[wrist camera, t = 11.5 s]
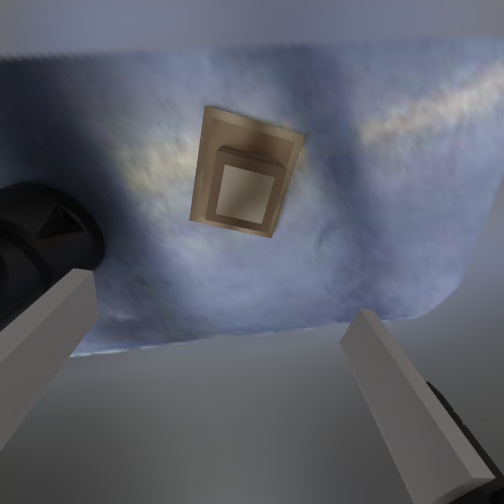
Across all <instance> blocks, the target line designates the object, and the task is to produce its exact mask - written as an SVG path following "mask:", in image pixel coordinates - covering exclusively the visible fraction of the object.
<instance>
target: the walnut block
mask: <svg viewBox="0 0 504 504" xmlns="http://www.w3.org/2000/svg"><path fill="white" fill-rule="evenodd" d="M287 170H288V169H286V168H285V167H284V166H283V165H282V164H281V163H280V162H279V161H278V160H275V159H271V158H267V157H264V156H260V155H256V154H253V153H249V152H245V151H241V150H238V149H234V148H230V147H227V146H223V145H222V146H221V147H220V148H219V149H218V150H217V151H216V156H215V162H214V169H213V175H212V181H211V187H210V193H209V199H208V205H207V212H206V218H205V220H208V221H213V222H217V223H222V224H227V225H231V226H236V227H240V228H245V229H250V230H254V231H259V232H264V233H268V231H269V228H270V225H271V221H272V218H273V215H274V212H275V208H276V205H277V202H278V199H279V196H280V192H281V189H282V186H283V183H284V179H285V176H286V173H287Z"/></svg>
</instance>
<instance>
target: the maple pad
mask: <svg viewBox="0 0 504 504" xmlns="http://www.w3.org/2000/svg"><path fill="white" fill-rule="evenodd" d="M304 137H305V135H302V134H299V133H296V132H292V131H289V130H286V129H282V128H279V127H276V126H272V125H269V124H266V123H262V122H259V121H256V120H252V119H249V118H246V117H242V116H239V115H236V114H232V113H229V112H226V111H222V110H219V109H216V108H212V107H209V106H206V105H205V108H204V116H203V123H202V131H201V138H200V146H199V153H198V161H197V168H196V175H195V183H194V190H193V198H192V205H191V213H190V221H195V222H200V223H204V224H209V225H213V226H218V227H223V228H227V229H232V230H236V231H241V232H245V233H250V234H255V235H259V236H264V237H268V238H271V237H272V234H273V231H274V228H275V225H276V222H277V219H278V216H279V213H280V210H281V207H282V204H283V201H284V198H285V195H286V192H287V189H288V186H289V183H290V180H291V176H292V173H293V170H294V167H295V164H296V161H297V158H298V155H299V152H300V149H301V146H302V143H303V140H304ZM222 145H223V146H227V147H230V148H234V149H238V150H241V151H245V152H249V153H253V154H256V155H260V156H264V157H267V158H271V159H275V160H278V161H279V162H280V163H281V164H282V165H283V166H284V167H285V168H286V169H288V170H287V173H286V176H285V179H284V183H283V186H282V189H281V192H280V196H279V199H278V202H277V205H276V208H275V212H274V215H273V218H272V221H271V225H270V228H269V231H268V233H264V232H259V231H254V230H250V229H245V228H240V227H236V226H231V225H227V224H222V223H217V222H213V221H208V220H205V218H206V212H207V205H208V199H209V193H210V187H211V181H212V175H213V169H214V162H215V156H216V151H217V150H218V149H219V148H220V147H221V146H222Z"/></svg>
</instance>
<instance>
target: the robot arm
mask: <svg viewBox="0 0 504 504" xmlns="http://www.w3.org/2000/svg"><path fill="white" fill-rule="evenodd" d="M103 254H104V242H103V237H102V234H101V232H100V229H99V227H98V226H97V224H96V222H95V221H94V219H93V218H92V217H91V216H90V214H89V213H88V212H87V211H86V210H85V209H84V208H83V207H82V206H80V205H79V204H78V203H77V202H75V201H74V200H73V199H71V198H69V197H68V196H66V195H64V194H62V193H60V192H58V191H56V190H54V189H51V188H48V187H44V186H40V185H34V184H18V185H13V186H9V187H5V188H2V189H0V450H1V449H2V448H3V446H4V445H5V444H6V442H7V441H8V440H9V438H10V437H11V435H12V434H13V433H14V431H15V430H16V429H17V427H18V426H19V424H20V423H21V422H22V420H23V419H24V417H25V416H26V415H27V414H28V412H29V411H30V409H31V408H32V407H33V405H34V404H35V403H36V401H37V400H38V398H39V397H40V396H41V394H42V393H43V392H44V390H45V389H46V388H47V386H48V385H49V383H50V382H51V381H52V379H53V378H54V377H55V375H56V374H57V373H58V371H59V370H60V368H61V367H62V366H63V364H64V363H65V362H66V360H67V359H68V357H69V356H70V355H71V353H72V352H73V351H74V349H75V348H76V347H77V345H78V344H79V342H80V341H81V340H82V338H83V337H84V336H85V334H86V333H87V331H88V330H89V329H90V327H91V326H92V325H93V323H94V322H95V321H96V319H97V318H98V316H99V315H98V307H97V300H96V293H95V285H94V278H93V270H94V269H95V268H96V267H97V266H98V265H99V263H100V262H101V260H102V257H103ZM340 346H341V348H342V350H343V352H344V354H345V356H346V358H347V361H348V363H349V365H350V367H351V369H352V371H353V373H354V376H355V378H356V380H357V382H358V384H359V386H360V389H361V391H362V393H363V395H364V397H365V399H366V401H367V403H368V406H369V408H370V410H371V412H372V414H373V416H374V419H375V421H376V423H377V425H378V427H379V429H380V431H381V434H382V436H383V438H384V440H385V442H386V444H387V446H388V449H389V451H390V453H391V455H392V457H393V459H394V462H395V464H396V466H397V468H398V470H399V472H400V474H401V477H402V478H403V481H404V483H405V485H406V487H407V489H408V491H409V494H410V496H411V498H412V500H413V502H414V504H504V475H503V474H502V473H501V472H500V470H499V469H498V468H497V466H496V465H495V464H494V462H493V461H492V460H491V459H490V457H489V456H488V455H487V453H486V452H485V451H484V449H483V448H482V447H481V445H480V444H479V443H478V441H477V440H476V439H475V438H474V436H473V435H472V433H471V432H470V431H469V429H468V428H467V427H466V426H465V425H463V423H462V420H461V419H460V418H459V416H458V415H457V414H456V412H454V411H453V408H452V407H451V406H450V404H449V403H448V402H447V400H446V399H445V398H444V397H443V395H442V394H441V393H440V392H439V391H437V389H435V388H434V387H433V386H432V385H431V384H430V383H429V382H425V381H424V380H423V378H422V377H421V375H420V374H419V373H418V371H417V370H416V369H415V367H414V366H413V365H412V363H411V362H410V360H409V359H408V358H407V356H406V355H405V353H404V352H403V351H402V349H401V348H400V347H399V345H398V344H397V342H396V341H395V340H394V339H393V337H392V336H391V334H390V333H389V332H388V330H387V329H386V327H385V326H384V325H383V323H382V322H381V321H380V319H379V318H378V316H377V315H376V314H375V312H374V311H373V310H369V309H362V308H360V309H359V311H358V312H357V314H356V316H355V317H354V319H353V321H352V322H351V324H350V326H349V328H348V329H347V331H346V333H345V334H344V336H343V338H342V339H341V341H340Z"/></svg>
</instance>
